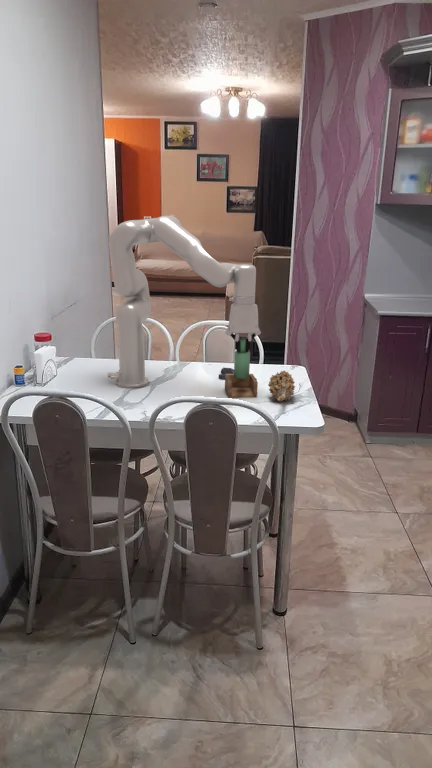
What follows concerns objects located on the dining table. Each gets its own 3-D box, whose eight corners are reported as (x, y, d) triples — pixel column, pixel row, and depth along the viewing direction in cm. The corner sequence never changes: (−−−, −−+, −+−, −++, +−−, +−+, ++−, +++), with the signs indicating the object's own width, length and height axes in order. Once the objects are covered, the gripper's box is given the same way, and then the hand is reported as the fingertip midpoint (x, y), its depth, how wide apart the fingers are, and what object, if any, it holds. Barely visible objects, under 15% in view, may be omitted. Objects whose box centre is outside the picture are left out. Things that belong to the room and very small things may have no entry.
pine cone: (266, 391, 205) (267, 366, 202) (292, 392, 205) (294, 367, 202) (269, 413, 184) (271, 385, 181) (298, 414, 184) (300, 386, 181)
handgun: (259, 375, 227) (256, 384, 216) (221, 372, 230) (216, 380, 219) (259, 370, 226) (256, 378, 215) (221, 366, 229) (216, 375, 218)
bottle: (235, 378, 198) (236, 338, 194) (232, 374, 204) (234, 334, 199) (250, 378, 199) (251, 338, 194) (247, 373, 204) (249, 334, 200)
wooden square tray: (228, 397, 198) (228, 382, 196) (224, 388, 208) (225, 373, 206) (256, 397, 199) (257, 382, 197) (252, 388, 209) (252, 373, 207)
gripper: (222, 302, 188) (221, 354, 194) (269, 302, 190) (266, 354, 196) (219, 298, 195) (218, 349, 201) (264, 298, 197) (262, 348, 203)
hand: (242, 351), depth 198 cm, fingers closed on bottle, 2 cm apart
